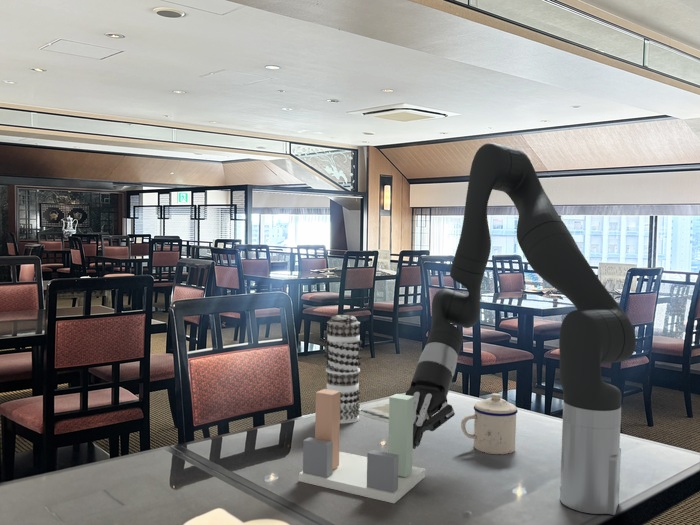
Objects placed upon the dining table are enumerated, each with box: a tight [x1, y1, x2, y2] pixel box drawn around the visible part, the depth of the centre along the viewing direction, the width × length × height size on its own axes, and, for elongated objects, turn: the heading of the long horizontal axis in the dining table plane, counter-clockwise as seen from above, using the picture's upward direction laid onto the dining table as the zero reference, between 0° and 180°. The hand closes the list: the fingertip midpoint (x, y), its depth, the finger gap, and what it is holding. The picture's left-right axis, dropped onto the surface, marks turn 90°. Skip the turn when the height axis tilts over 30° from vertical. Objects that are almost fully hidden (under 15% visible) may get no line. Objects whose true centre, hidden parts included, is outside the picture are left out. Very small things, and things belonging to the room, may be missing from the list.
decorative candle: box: [323, 314, 363, 424], centre depth 159 cm, size 9×9×25 cm
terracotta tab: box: [314, 388, 341, 470], centre depth 122 cm, size 4×3×14 cm
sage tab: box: [387, 393, 414, 477], centre depth 119 cm, size 4×3×14 cm
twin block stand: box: [298, 436, 426, 504], centre depth 121 cm, size 19×14×8 cm
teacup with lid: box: [460, 393, 518, 455], centre depth 139 cm, size 12×9×12 cm
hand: (410, 446), depth 124 cm, fingers closed
